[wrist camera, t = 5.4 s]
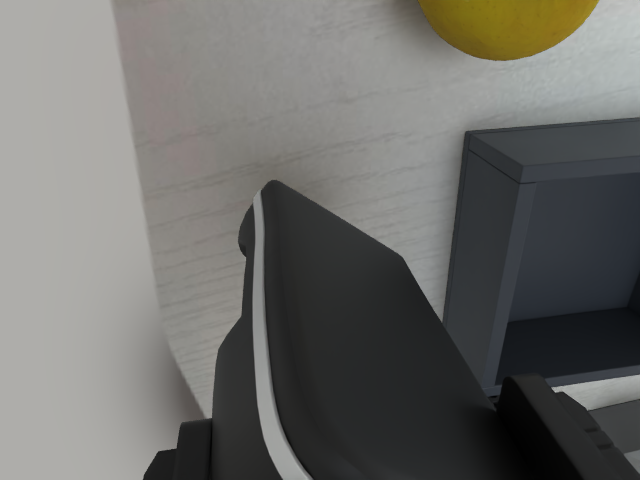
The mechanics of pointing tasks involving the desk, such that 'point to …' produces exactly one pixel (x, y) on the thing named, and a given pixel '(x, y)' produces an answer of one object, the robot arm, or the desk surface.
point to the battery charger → (343, 364)
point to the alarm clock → (622, 428)
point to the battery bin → (548, 253)
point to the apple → (505, 24)
